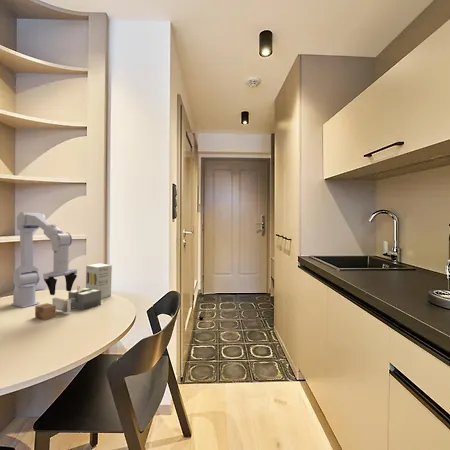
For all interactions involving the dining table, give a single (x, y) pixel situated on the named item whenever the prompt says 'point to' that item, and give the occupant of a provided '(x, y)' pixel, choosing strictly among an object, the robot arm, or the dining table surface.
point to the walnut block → (45, 311)
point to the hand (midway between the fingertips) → (60, 292)
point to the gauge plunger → (65, 302)
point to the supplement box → (99, 278)
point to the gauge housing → (85, 298)
